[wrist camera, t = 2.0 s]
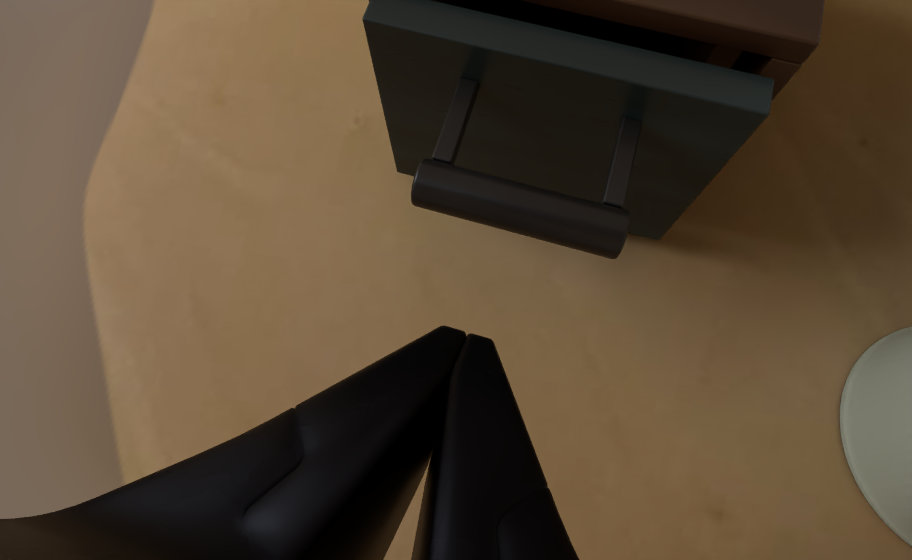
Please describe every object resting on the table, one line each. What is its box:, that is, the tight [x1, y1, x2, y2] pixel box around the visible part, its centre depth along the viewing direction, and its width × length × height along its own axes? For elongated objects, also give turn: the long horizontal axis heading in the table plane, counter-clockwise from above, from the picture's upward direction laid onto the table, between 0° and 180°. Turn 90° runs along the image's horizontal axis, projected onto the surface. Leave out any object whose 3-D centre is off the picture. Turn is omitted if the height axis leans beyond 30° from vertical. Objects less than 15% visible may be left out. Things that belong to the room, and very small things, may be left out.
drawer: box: [363, 0, 774, 259], centre depth 21 cm, size 18×11×9 cm, turn 163°
